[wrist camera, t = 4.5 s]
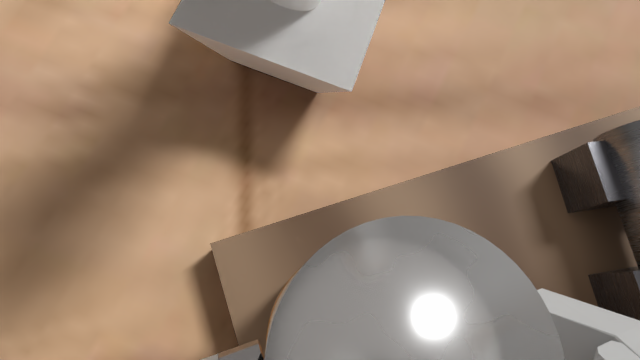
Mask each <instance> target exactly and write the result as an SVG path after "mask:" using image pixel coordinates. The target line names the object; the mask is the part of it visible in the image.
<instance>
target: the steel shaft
mask: <svg viewBox="0 0 640 360" xmlns="http://www.w3.org/2000/svg"><path fill="white" fill-rule="evenodd" d="M551 163H552V166H553V169H554V172H555V175H556V178H557V181H558V184H559V187H560V191H561V194H562V197H563V200H564V203H565V206H566V209H567V212H568V213H574V212H580V211H587V210H593V209H600V208H607V207H613V206H616V207H617V210H618V213H619V215H620V218H621V221H622V224H623V227H624V229H625V232H626V235H627V238H628V241H629V243H630V246H631V249H632V252H633V255H634V257H635V260H636V263H637V266H635V267H629V268H623V269H618V270H612V271H607V272H601V273H596V274H590V275H588V277H589V280H590V283H591V286H592V289H593V292H594V295H595V298H596V301H597V305H598V307H600V308H603V309H606V310H609V311H612V312H615V313H618V314H621V315H624V316H627V317H630V318H633V319H636V320H639V321H640V120H638V121H634V122H631V123H628V124H625V125H622V126H619V127H616V128H614V129H611V130H609V131H607V132H604V133H602V134H600V135H599V136H597V137H596V138H594V140H593V142H588V143H585V144H583V145H581V146H579V147H577V148H575V149H573V150H571V151H569V152H567V153H565V154H563V155H561V156H559V157H557V158H555V159H553V160H551Z"/></svg>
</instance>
